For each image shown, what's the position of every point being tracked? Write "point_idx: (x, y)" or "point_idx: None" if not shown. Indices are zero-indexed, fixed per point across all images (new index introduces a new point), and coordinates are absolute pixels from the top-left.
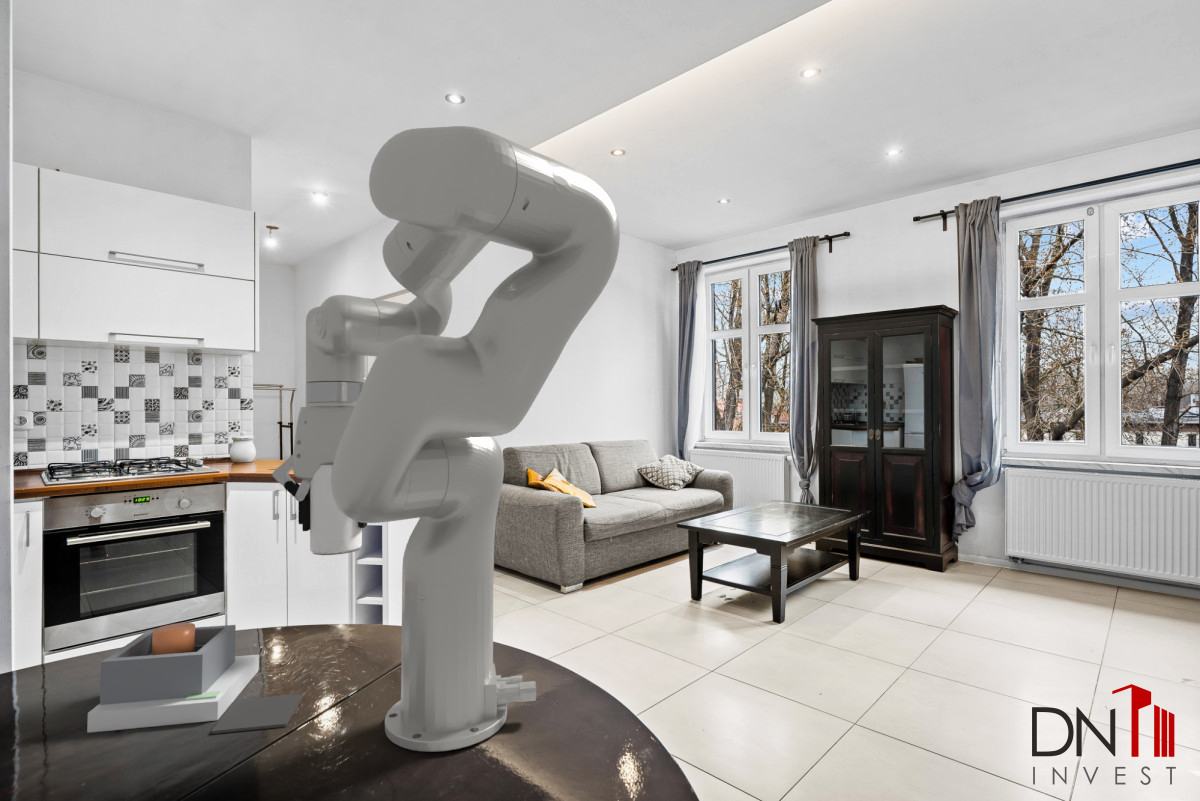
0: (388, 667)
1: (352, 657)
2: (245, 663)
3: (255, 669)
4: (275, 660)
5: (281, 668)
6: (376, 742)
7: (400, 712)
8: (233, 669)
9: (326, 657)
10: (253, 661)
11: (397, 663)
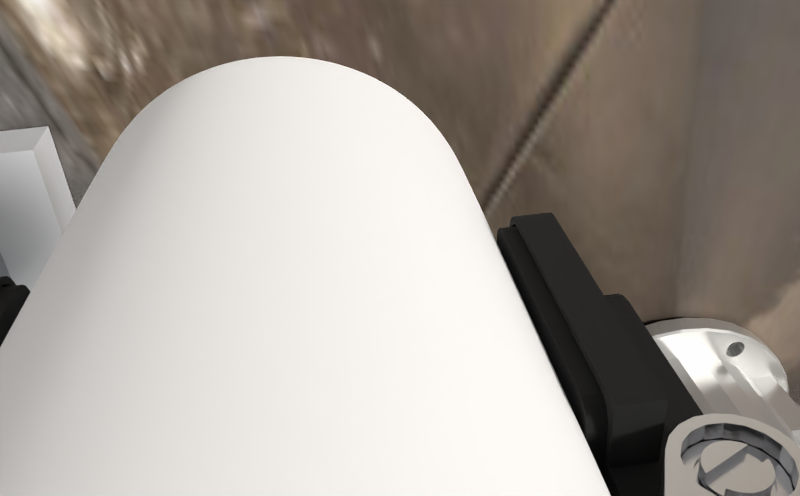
0: (502, 137)
1: (356, 35)
2: (37, 224)
3: (53, 164)
4: (53, 33)
5: (125, 113)
6: None
7: None
8: (30, 268)
9: (252, 24)
10: (52, 203)
11: (528, 108)
